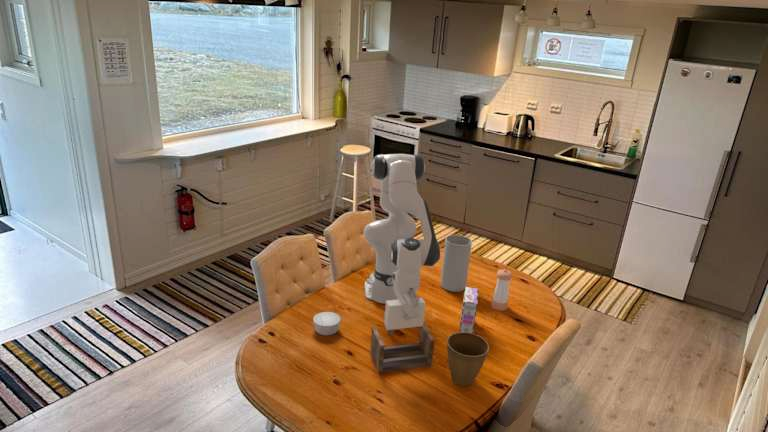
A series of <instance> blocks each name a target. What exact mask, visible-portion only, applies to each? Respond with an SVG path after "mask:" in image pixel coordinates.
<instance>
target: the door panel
mask: <svg viewBox="0 0 768 432" xmlns="http://www.w3.org/2000/svg"><path fill="white" fill-rule="evenodd" d="M419 301H420V311H419V316H418V317H417V318H410V320H407V321H406V320H405V318H404V314H406V312H405V310H404V308H403V304H402V303H401V301H400V299H398V300H388V301H386V304H385V309H384V310H385V311H384V313H385V321H384V324H383V325H384V326H385V328H386V331H387V330H392V329H393V330H399V329H407V328H408V329H409V328H417V327H419V328H420V326H423V323H424V324H425V310H426V301H425V300H424V298H423V297H421V296H420V297H419Z"/></svg>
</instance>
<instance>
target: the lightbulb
mask: <svg viewBox="0 0 768 432" xmlns="http://www.w3.org/2000/svg"><path fill="white" fill-rule="evenodd" d="M383 320H384V322H385V312H384V313H383ZM393 333H394V329H392V330H387V329H386V334H388V335H392V334H393Z"/></svg>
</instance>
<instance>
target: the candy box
mask: <svg viewBox="0 0 768 432" xmlns="http://www.w3.org/2000/svg"><path fill="white" fill-rule="evenodd" d="M478 299H479V288H476V287H470V286H466V287H465V289H464V292H463V299H462V300H463V301H462V307H461V313H460V315H461V316H460V324H459V330H458V331H459V332H468V333H473V334H474V328H475V321H476V320H475V319H476V315H477V310H478V309H477V308H478V301H479V300H478Z"/></svg>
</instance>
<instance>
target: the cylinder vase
mask: <svg viewBox="0 0 768 432" xmlns="http://www.w3.org/2000/svg"><path fill="white" fill-rule="evenodd" d="M472 243H473V241H472V239H471V238H470V237H467V236H465V235H461V234H449V235H447V236H446V237H445V242H444V250H443V259H442V266H441V267H442V269H441V277H440V287H441V288H442V289H444V290H445V291H448V292H453V293H454V292H455V293H458V292H462V291H465V287H467V280H468V274H469V268H470V267H469V265H470V258H471V252H472V251H471V250H472Z"/></svg>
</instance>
